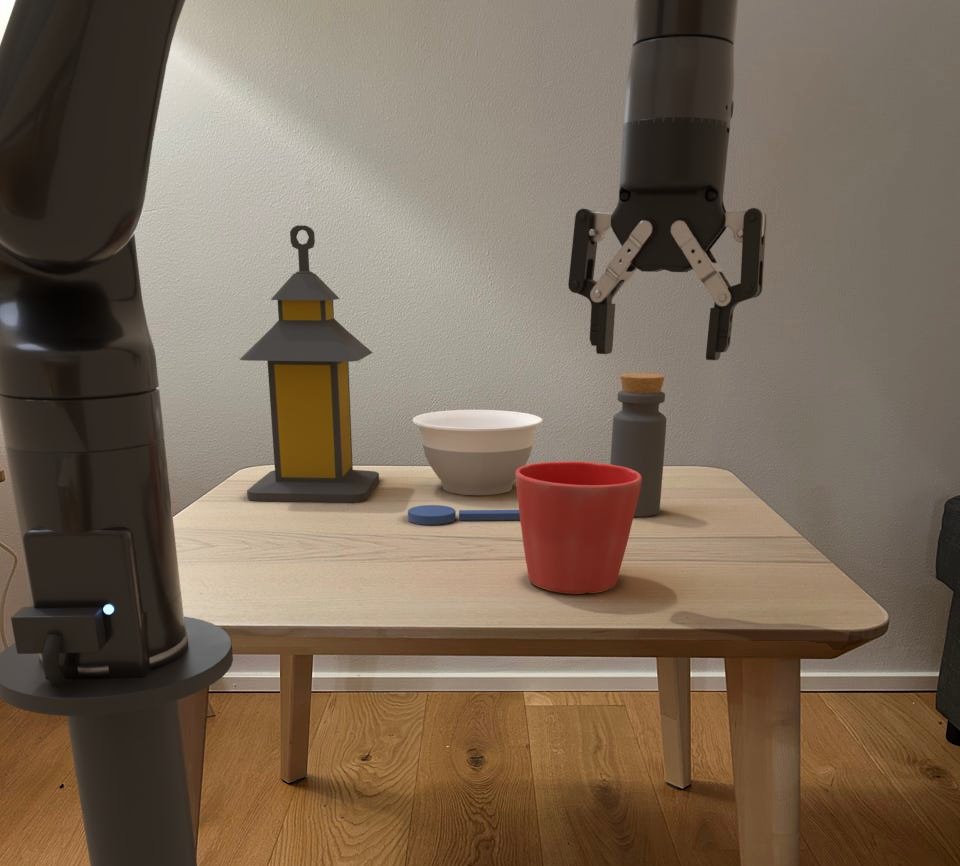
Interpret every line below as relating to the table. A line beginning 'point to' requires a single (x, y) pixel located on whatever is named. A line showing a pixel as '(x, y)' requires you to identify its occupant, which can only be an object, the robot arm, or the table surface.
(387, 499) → the table surface
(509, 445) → the bowl
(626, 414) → the bottle
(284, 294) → the lantern
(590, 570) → the flower pot
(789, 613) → the table surface
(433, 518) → the spoon
